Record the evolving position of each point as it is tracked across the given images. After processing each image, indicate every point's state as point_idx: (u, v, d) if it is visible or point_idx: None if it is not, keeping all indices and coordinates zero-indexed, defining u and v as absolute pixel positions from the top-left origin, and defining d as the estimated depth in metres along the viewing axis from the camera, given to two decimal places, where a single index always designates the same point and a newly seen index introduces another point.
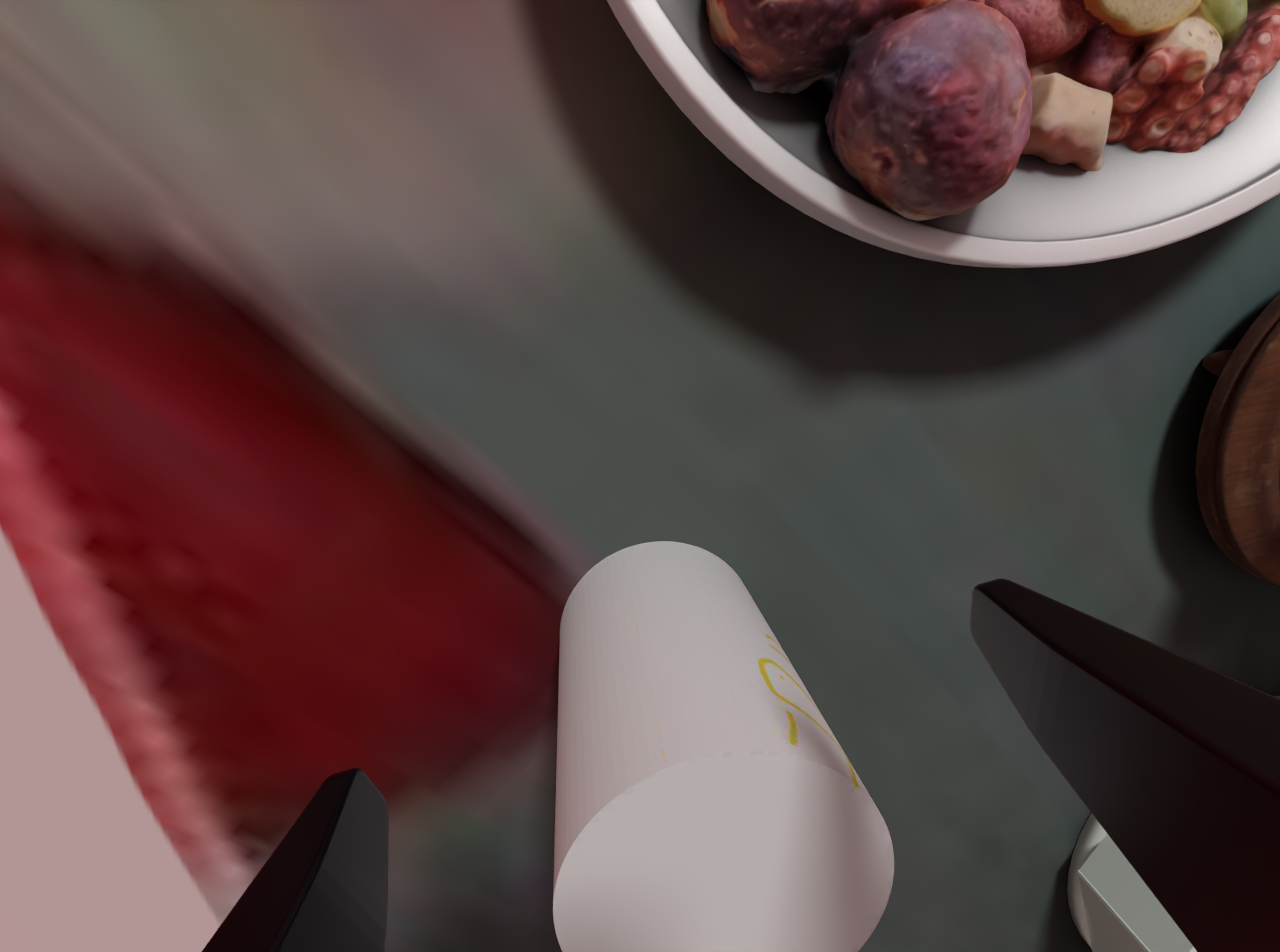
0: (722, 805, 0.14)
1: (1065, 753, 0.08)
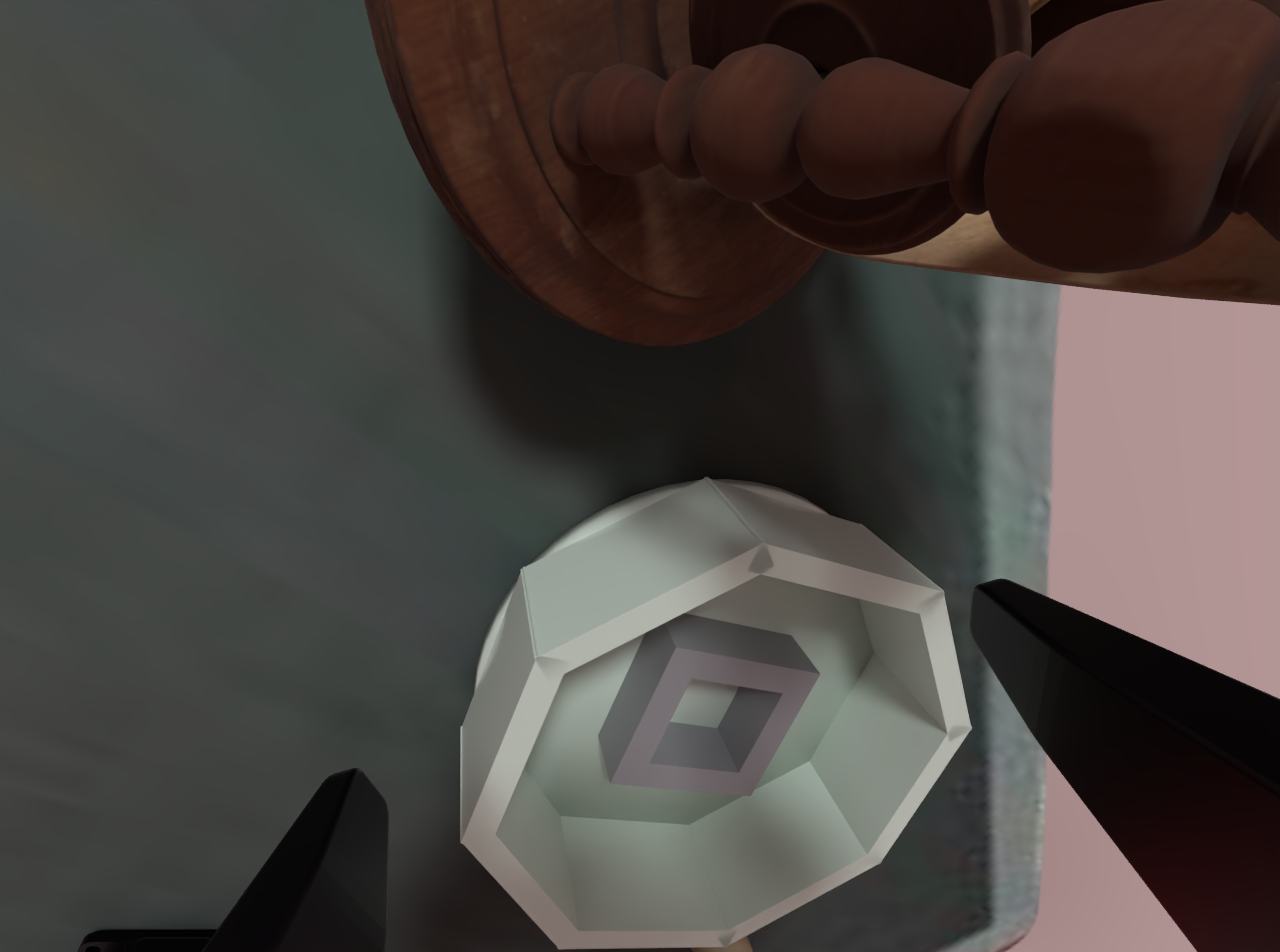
0: None
1: (1065, 753, 0.08)
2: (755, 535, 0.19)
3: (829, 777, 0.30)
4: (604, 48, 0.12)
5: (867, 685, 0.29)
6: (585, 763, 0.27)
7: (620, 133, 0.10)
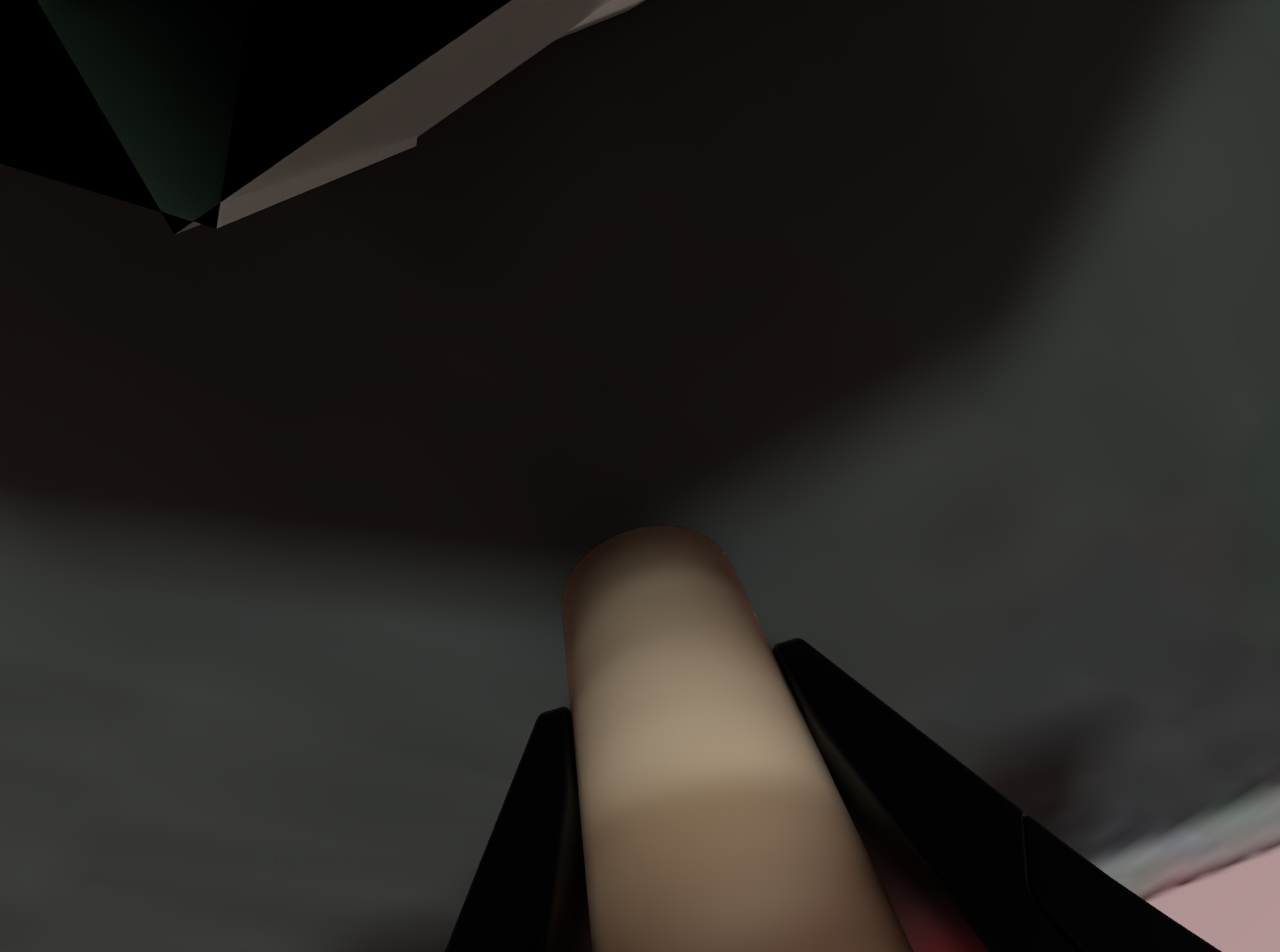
0: None
1: None
2: None
3: None
4: None
5: None
6: None
7: None
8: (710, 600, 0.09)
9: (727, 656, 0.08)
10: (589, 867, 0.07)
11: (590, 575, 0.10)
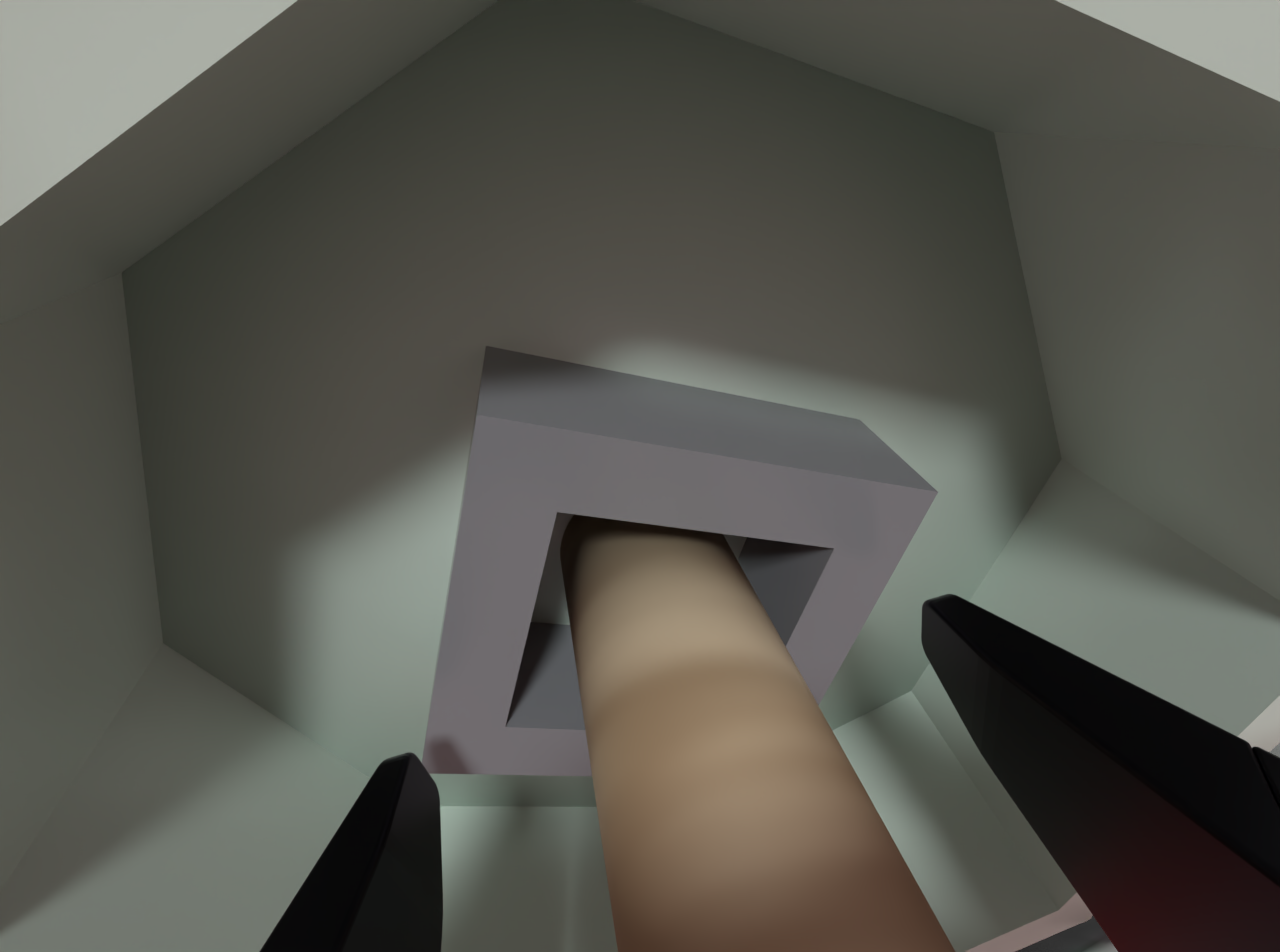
0: None
1: (1008, 771, 0.08)
2: None
3: (956, 726, 0.14)
4: None
5: (1046, 533, 0.13)
6: (428, 714, 0.13)
7: None
8: (692, 534, 0.10)
9: (708, 573, 0.09)
10: (592, 743, 0.08)
11: (586, 521, 0.11)
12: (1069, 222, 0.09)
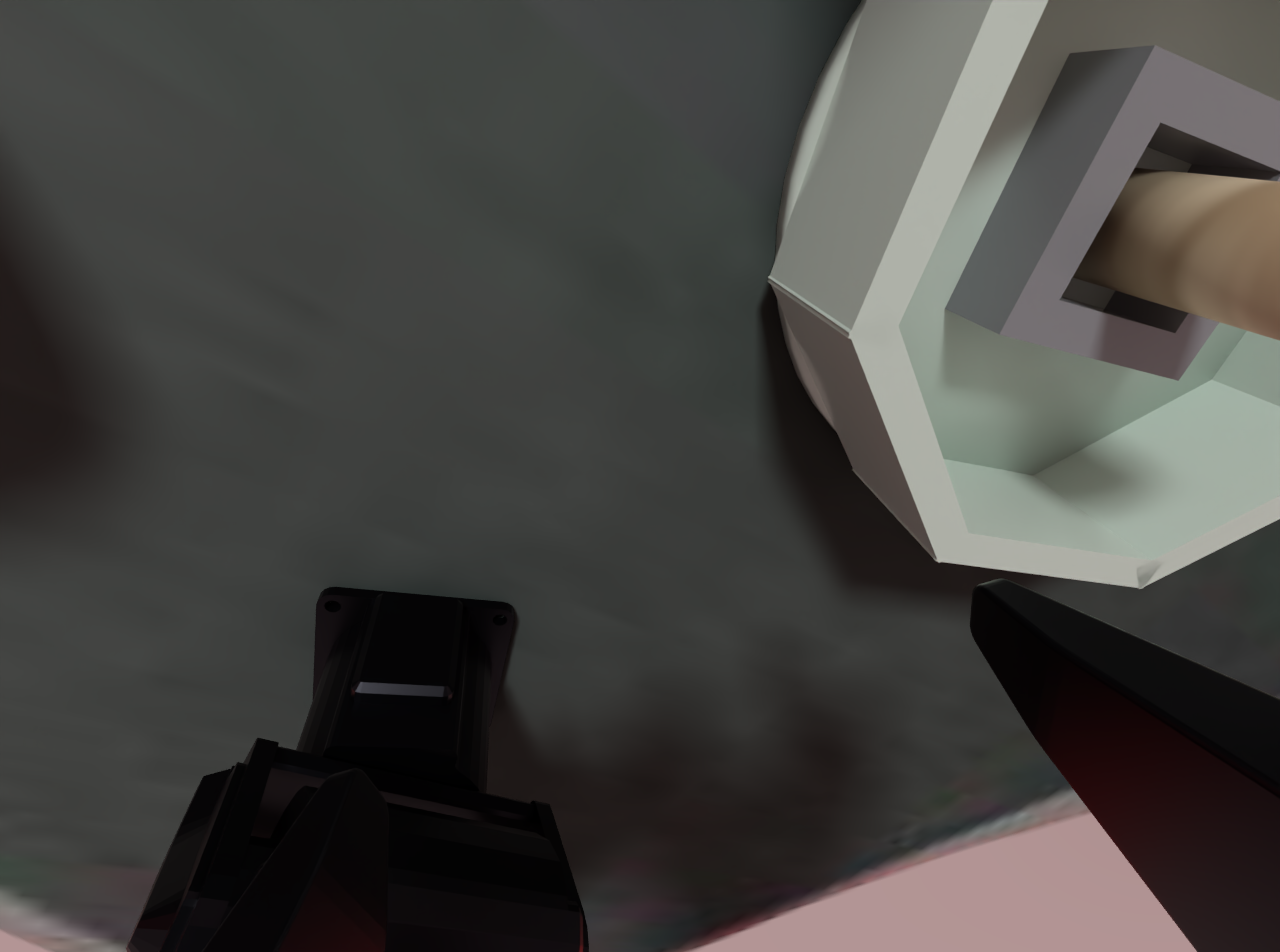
0: None
1: (1065, 753, 0.08)
2: None
3: (1264, 381, 0.20)
4: None
5: None
6: (920, 358, 0.20)
7: None
8: None
9: None
10: (1194, 239, 0.14)
11: None
12: None
